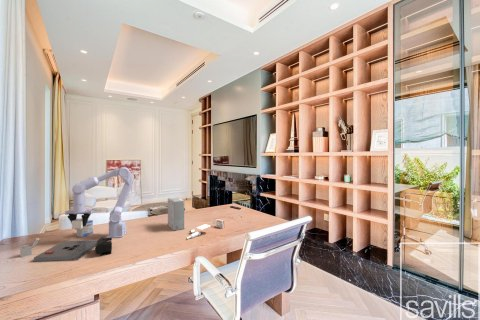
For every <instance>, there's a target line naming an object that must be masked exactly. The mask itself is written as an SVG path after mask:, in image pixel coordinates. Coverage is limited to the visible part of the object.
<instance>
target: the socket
mask: <svg viewBox="0 0 480 320" xmlns="http://www.w3.org/2000/svg"><path fill="white" fill-rule="evenodd" d="M97 241H98V239H91V240H88V239H87V240H86V239H85V240H62V241H61V242H59V243H57V244H55V245H54V246H53V247H50V248H49V249H47V250H45V251H43V252H41V253H39V254H38V255H36V256H34V257H33V262H54V261H55V262H57V261H59V262H60V261H63V262H64V261H79V260H80V259H81V258H83V257H84V256H85V255H87V254H88V253H89V252H91V251H92V250H93V249H95V247H96V244H97Z"/></svg>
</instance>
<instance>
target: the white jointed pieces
mask: <svg viewBox="0 0 480 320" xmlns="http://www.w3.org/2000/svg"><path fill="white" fill-rule="evenodd" d="M212 224H213V225H215V226H216V228H219V229H222V228H223V229H225V220H223V219H221V218H220V219H219V218H216V219H215V220H213V221H212ZM209 227H211V225H210V224H206V223H205V224H202V225H199V226H196V229H198V230H197V231H195V229H191V230H189V234H190V235H189V236H187V237H186V240H189V239H194V238H197V237H199V236H201V233H202V232H201V231H202V230H205V229H207V228H209ZM200 230H201V231H200Z"/></svg>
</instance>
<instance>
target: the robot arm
mask: <svg viewBox="0 0 480 320" xmlns="http://www.w3.org/2000/svg"><path fill="white" fill-rule="evenodd" d="M113 177H120V178H121V179H122V180H123V181H124V184H123V187H122V189H121V191H120V194H119V196H118V199H117V201H116V203H115V206H114V207H113V209H112V211H111V212H110V213H109V217H108V218H109V221H108V235H107V236H105V238H110V237H112V239H113V238H123V237H124V236H125V235H126V234H127V222H126V221H123V219H122V213H123V208H124V206H125V204H126V201H127V199H128V196H129V193H130V192H131V190H132V187H133V184H134V179H133V175H132V172H131V171H130V169H129V168H128V167H127V166H121V167H119V168H116V169H112V170H109V171H107V172H106V173H104V174H102V175H99V176H97V177H96V176H89V177H88V178H87V179H84V180H80V181H79V182H78V183H76V184H74V185H72V189H71V190H72V193H73V195H72V210H66V211H64V214H65V216H67V219H68V220H69V221H70V223H71V224H72V221H73V220H76V219H78V218H77V217H78V215H81V219H82V220H83V227H84V226H86V224H87V221H88V220H89V219H90V216H91V215H93V214H94V210H93V209H91V210H90V209H86V195H85V192H86V191H87V190H91V189H92V188H95V187H97V186H99V184H100V183H101V182H104V181H105V180H108V179H110V178H113Z"/></svg>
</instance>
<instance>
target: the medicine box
mask: <svg viewBox="0 0 480 320" xmlns="http://www.w3.org/2000/svg"><path fill="white" fill-rule="evenodd" d="M93 233H94V220H93V219H88V221H87V226H85V228H81V230H80V229H76V237H79V238H84V237H86V236H89V235H92V234H93Z"/></svg>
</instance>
